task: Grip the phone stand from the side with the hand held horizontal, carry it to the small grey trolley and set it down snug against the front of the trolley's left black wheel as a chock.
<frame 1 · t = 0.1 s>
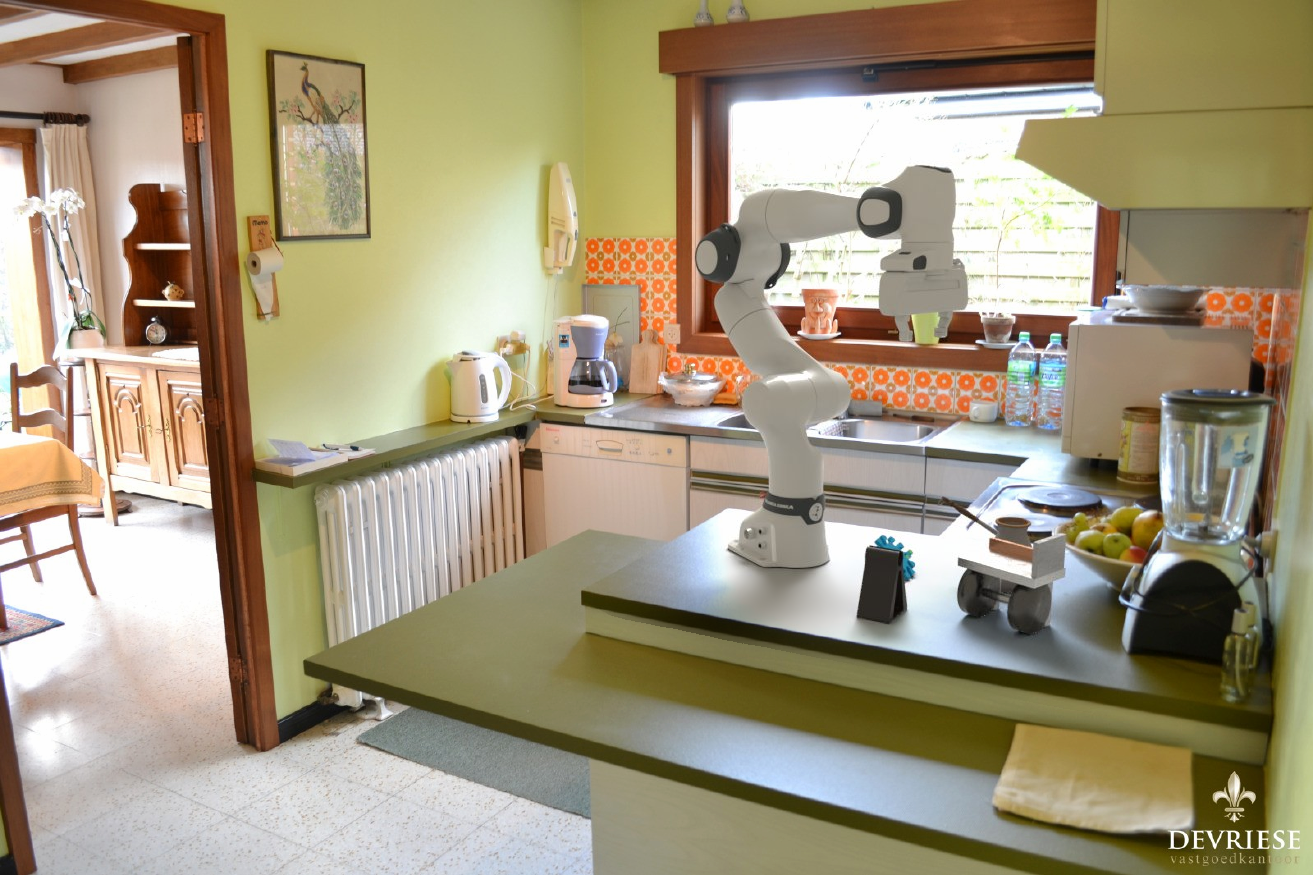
hand: (923, 339, 178), 48 cm above the counter, tool pointing down, fingers open, 8 cm apart
coffee pot: (985, 581, 197), on the counter
phone stand: (882, 614, 181), on the counter
trolley: (1007, 620, 177), on the counter
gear: (895, 576, 201), on the counter
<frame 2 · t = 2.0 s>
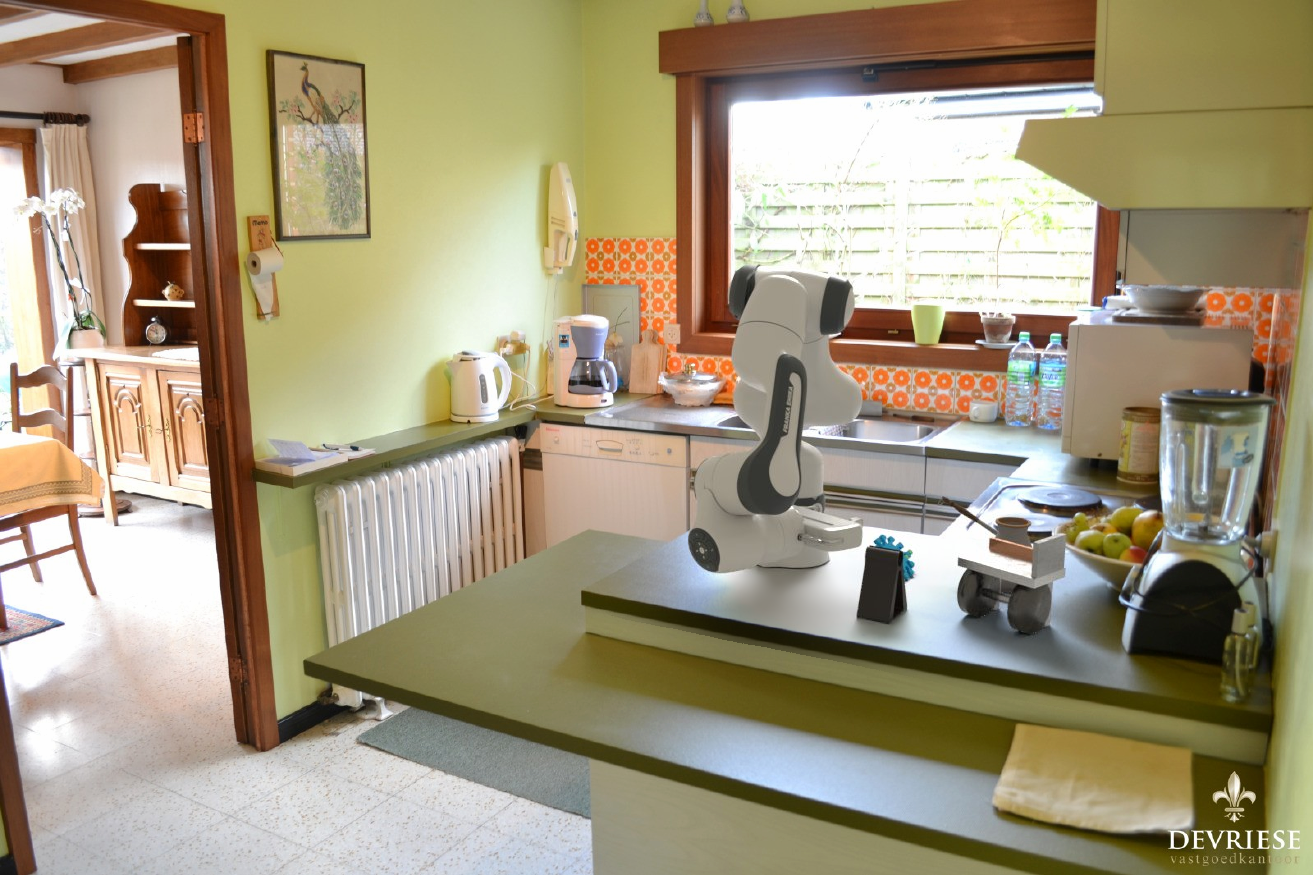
hand: (838, 516, 170), 20 cm above the counter, tool horizontal, fingers open, 8 cm apart
nothing on the counter moved.
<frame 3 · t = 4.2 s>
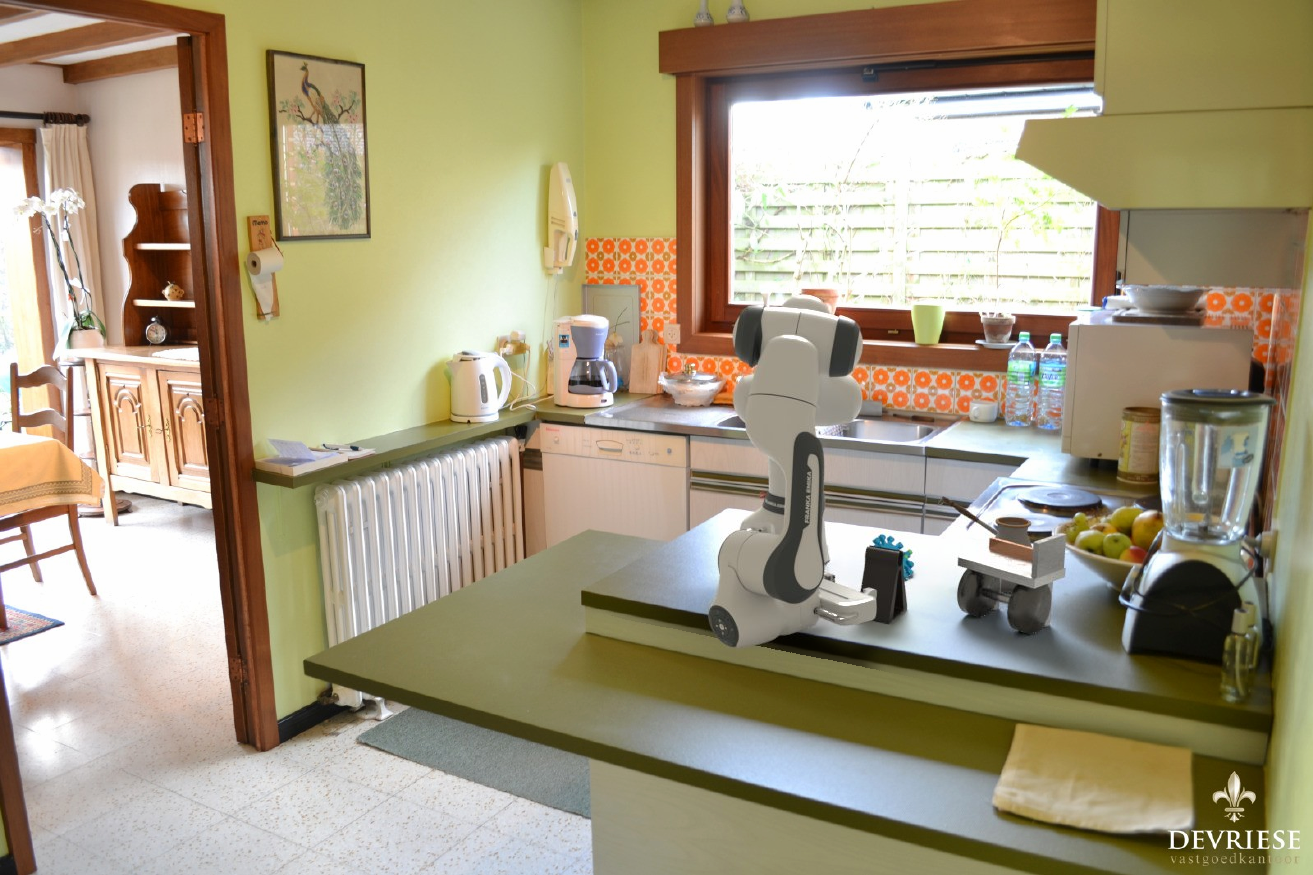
hand: (852, 585, 175), 7 cm above the counter, tool horizontal, fingers open, 8 cm apart
nothing on the counter moved.
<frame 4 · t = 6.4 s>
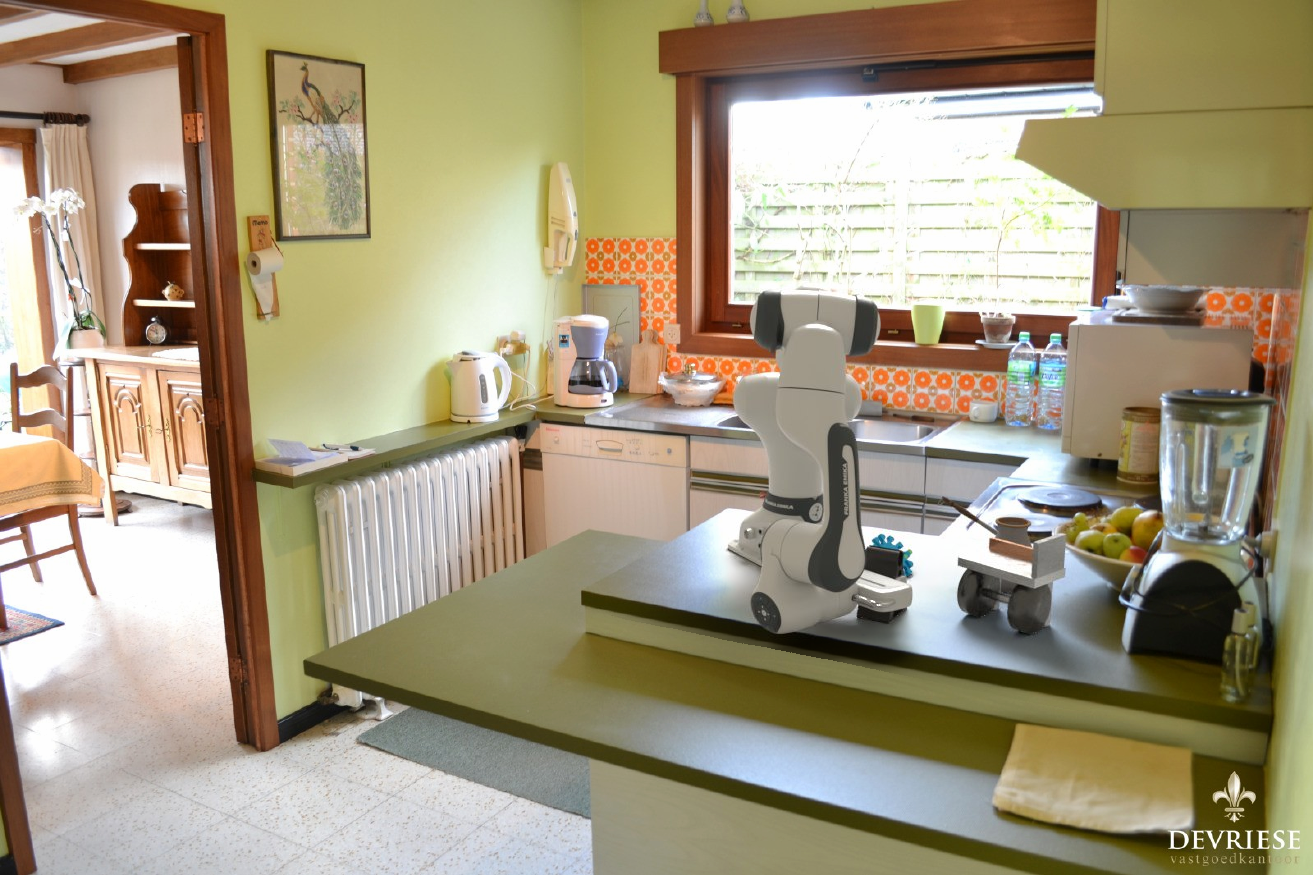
hand: (886, 574, 180), 7 cm above the counter, tool horizontal, fingers closed on phone stand, 6 cm apart
phone stand: (882, 614, 181), on the counter, touching gripper
everything else where it was.
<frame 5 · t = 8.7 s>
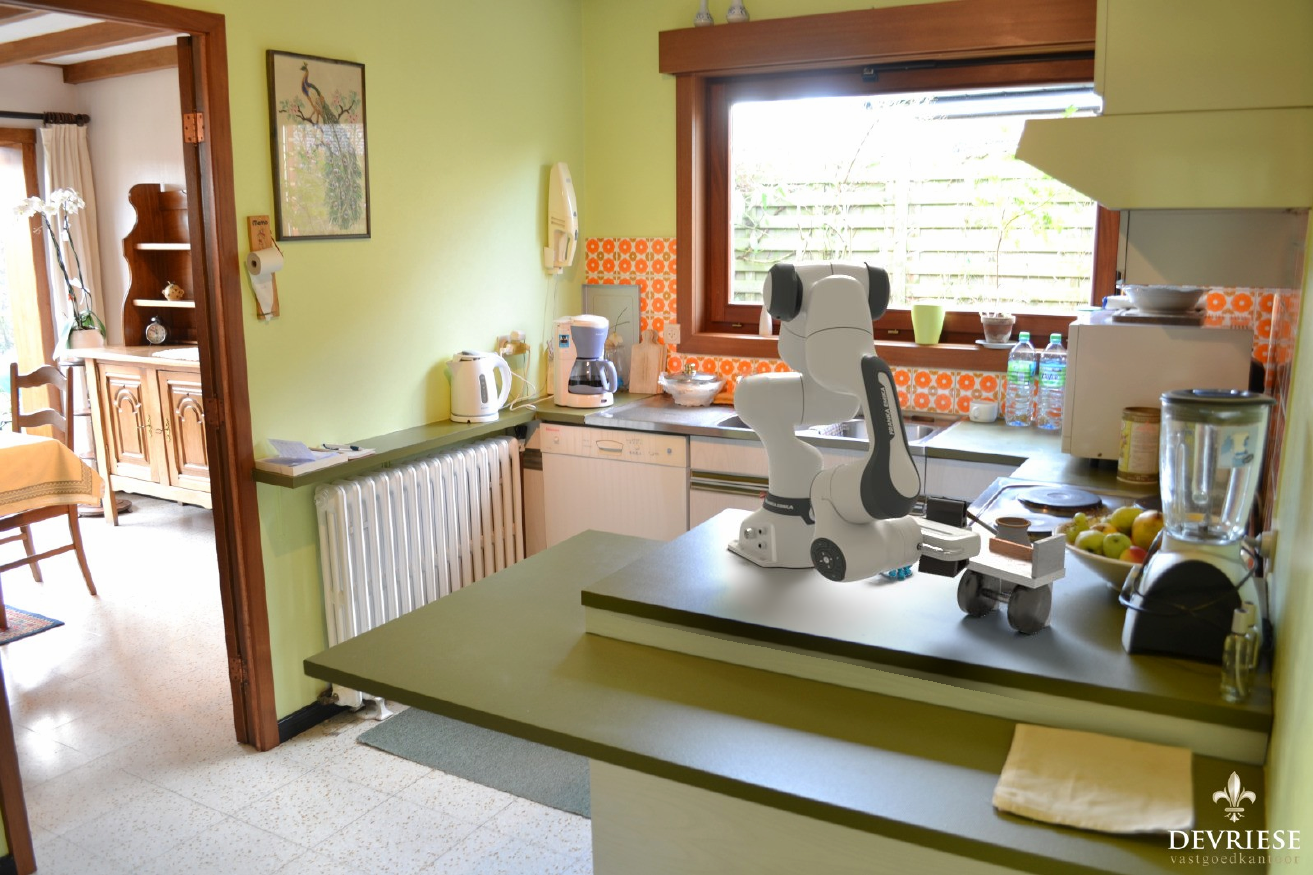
hand: (949, 525, 171), 18 cm above the counter, tool horizontal, fingers closed on phone stand, 6 cm apart
phone stand: (943, 569, 172), point 11 cm above the counter, touching gripper
everything else where it was.
when the fingers open (8 cm above the counter, at t = 11.2 s): phone stand stays where it is, on the counter.
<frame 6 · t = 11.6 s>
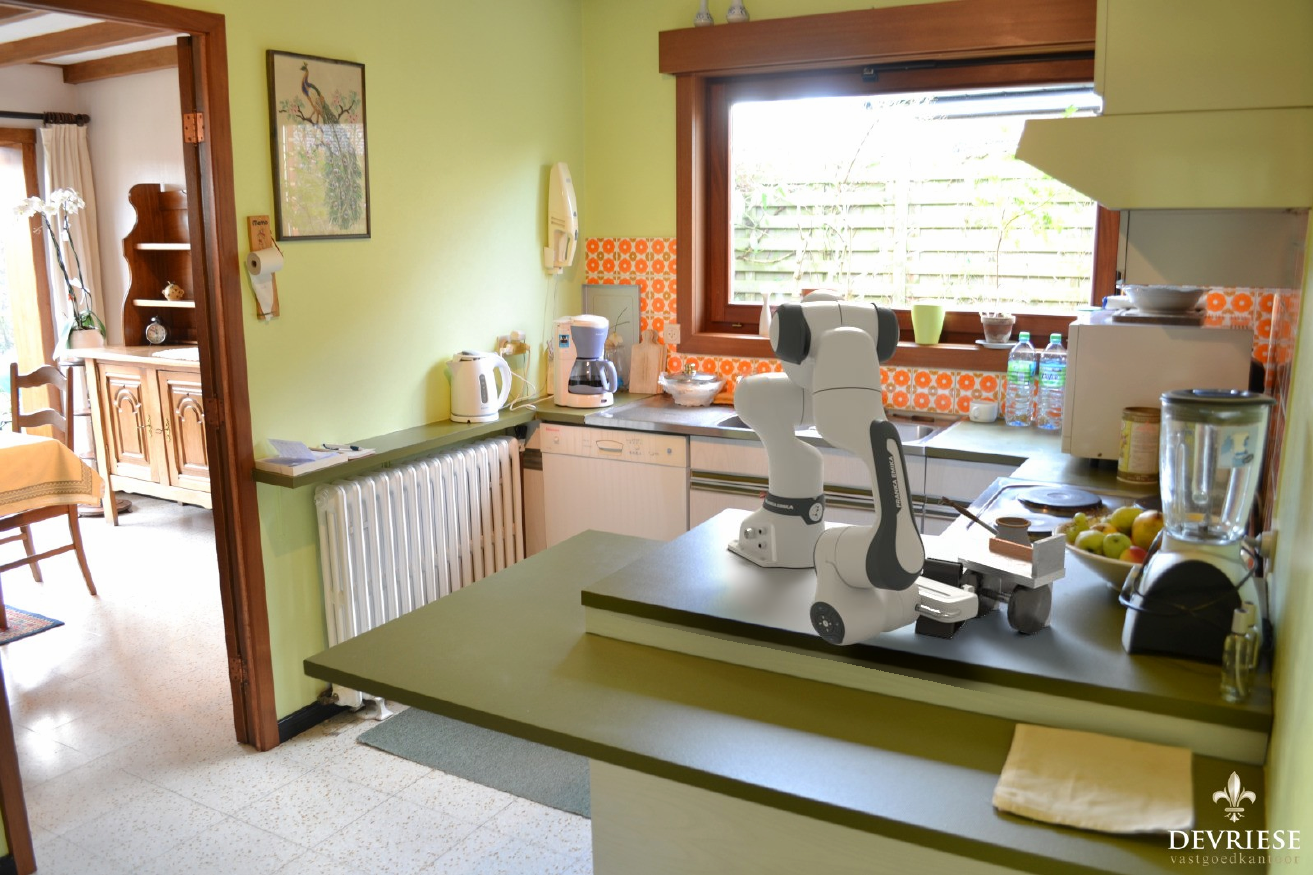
hand: (947, 582, 173), 8 cm above the counter, tool horizontal, fingers open, 8 cm apart
phone stand: (940, 629, 174), on the counter
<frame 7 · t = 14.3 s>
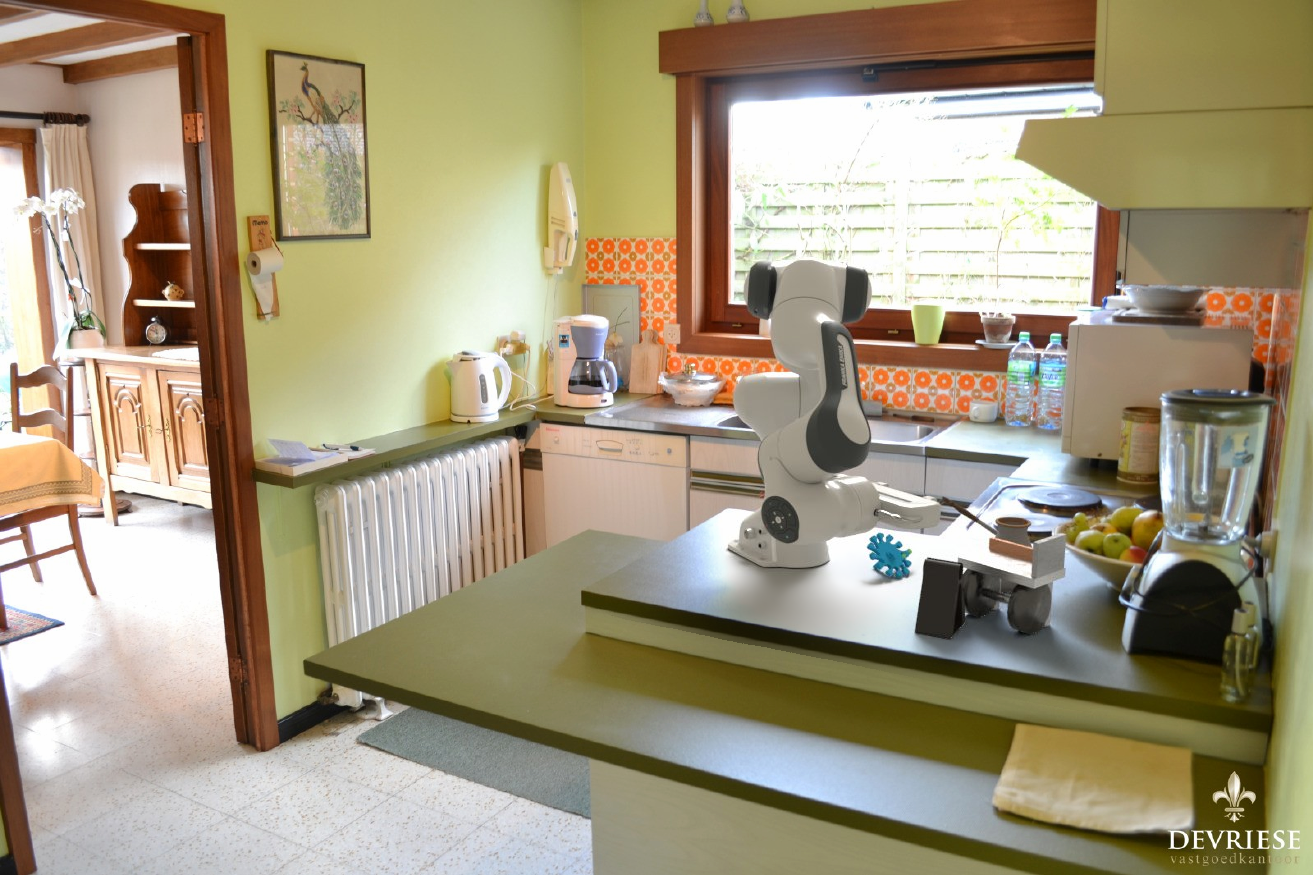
hand: (908, 494, 163), 25 cm above the counter, tool horizontal, fingers open, 8 cm apart
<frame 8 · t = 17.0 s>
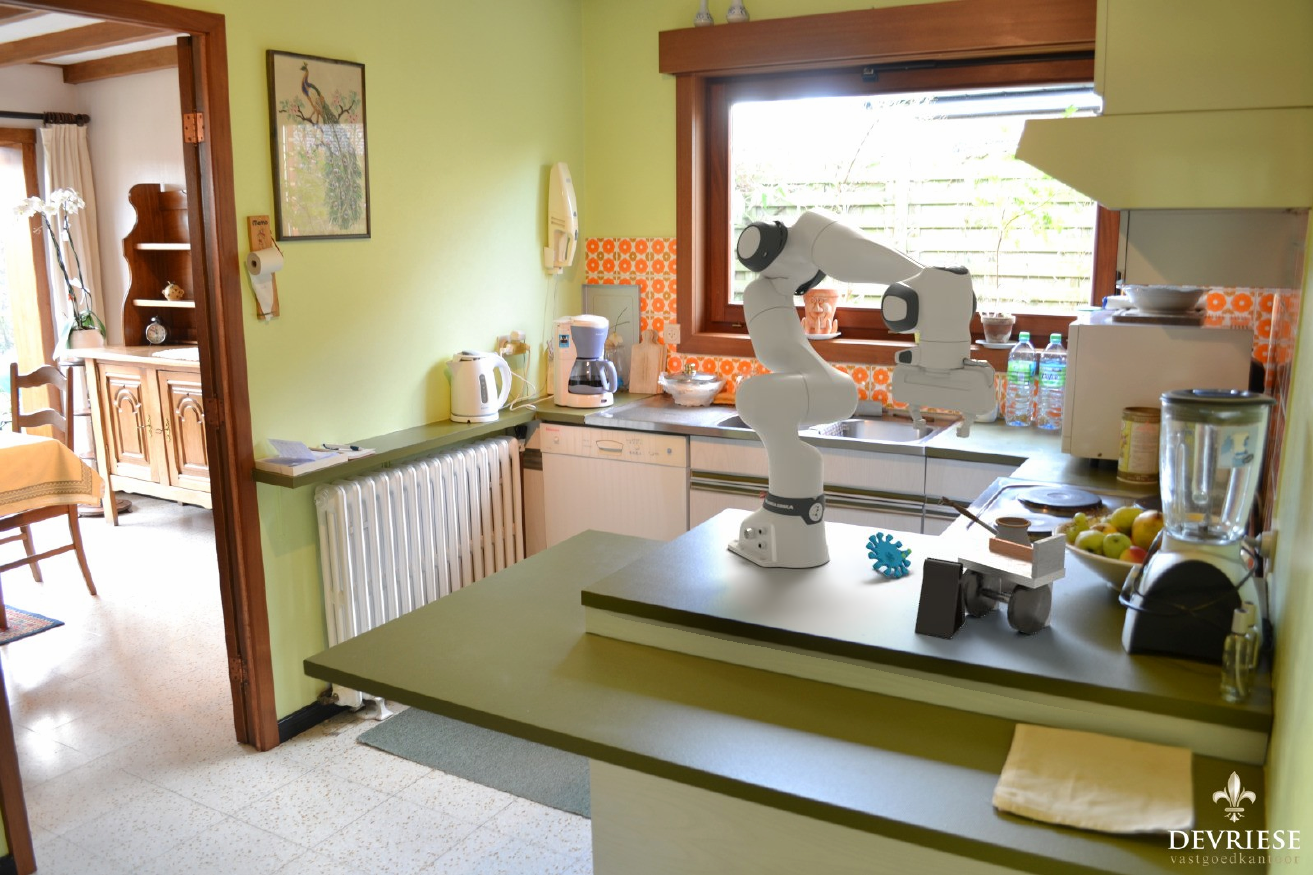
hand: (940, 433, 182), 31 cm above the counter, tool pointing down, fingers open, 8 cm apart
at the end: phone stand inside the target area (0.3 cm from its centre), on the counter; phone stand tilted 0°; the gripper is holding nothing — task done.
